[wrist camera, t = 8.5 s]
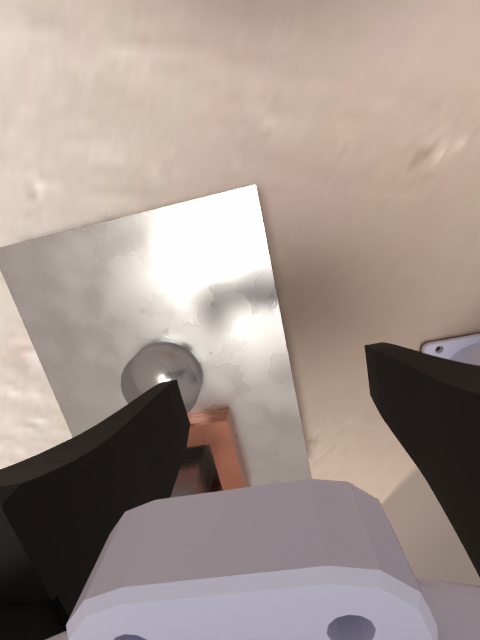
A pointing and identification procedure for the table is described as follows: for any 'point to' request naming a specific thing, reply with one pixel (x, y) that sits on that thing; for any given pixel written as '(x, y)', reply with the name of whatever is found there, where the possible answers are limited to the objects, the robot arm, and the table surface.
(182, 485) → the grey rectangular block
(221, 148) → the table surface
